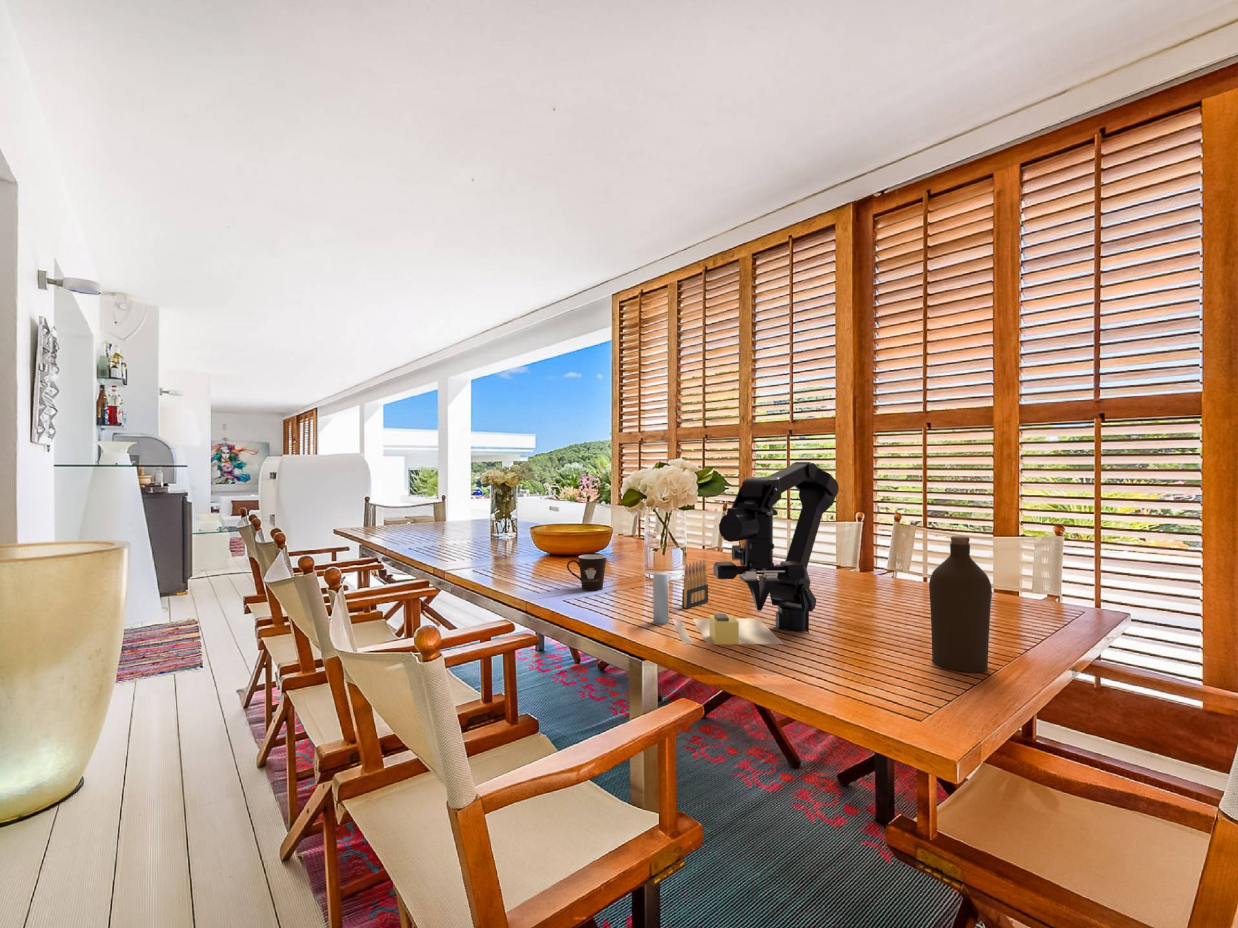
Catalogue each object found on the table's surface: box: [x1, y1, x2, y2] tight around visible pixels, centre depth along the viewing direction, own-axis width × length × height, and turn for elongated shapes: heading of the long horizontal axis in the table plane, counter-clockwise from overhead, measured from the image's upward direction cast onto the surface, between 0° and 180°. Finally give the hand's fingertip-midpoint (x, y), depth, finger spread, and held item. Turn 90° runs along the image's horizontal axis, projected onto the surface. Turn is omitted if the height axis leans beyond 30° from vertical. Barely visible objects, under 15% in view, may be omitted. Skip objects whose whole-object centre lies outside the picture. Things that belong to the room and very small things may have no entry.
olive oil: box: [928, 535, 993, 673], centre depth 115 cm, size 11×11×25 cm
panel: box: [671, 617, 784, 646], centre depth 133 cm, size 21×20×2 cm
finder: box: [709, 613, 740, 645], centre depth 126 cm, size 5×6×5 cm
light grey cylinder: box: [652, 571, 670, 626], centre depth 139 cm, size 4×4×13 cm
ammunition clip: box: [681, 559, 709, 610], centre depth 163 cm, size 11×2×12 cm, turn 140°
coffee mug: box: [566, 554, 607, 592], centre depth 184 cm, size 12×9×10 cm
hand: (758, 610), depth 126 cm, fingers closed
